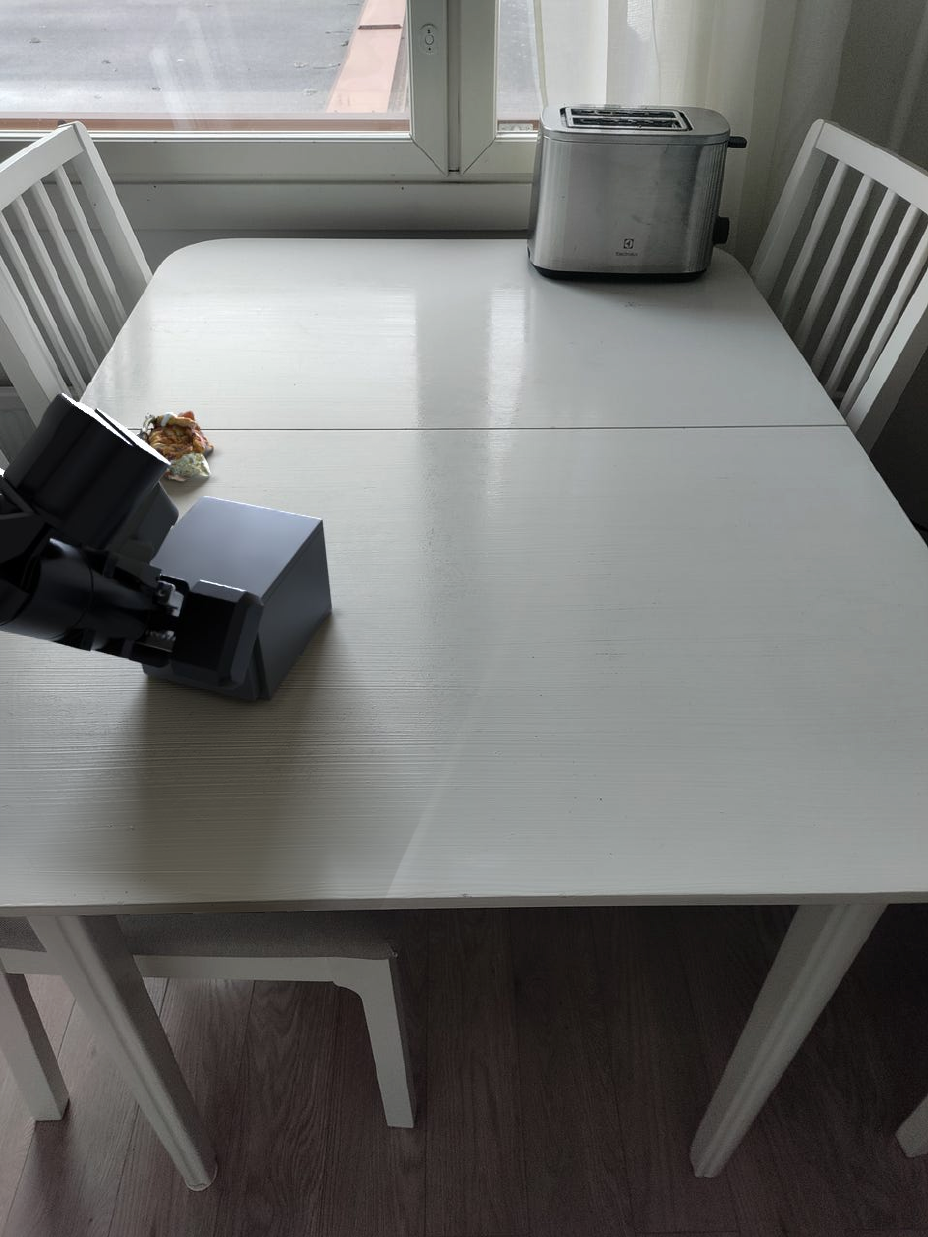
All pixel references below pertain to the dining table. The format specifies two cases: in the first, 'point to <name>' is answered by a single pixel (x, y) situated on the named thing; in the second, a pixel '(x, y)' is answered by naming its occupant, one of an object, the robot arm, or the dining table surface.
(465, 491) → the dining table surface
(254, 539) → the dark grey box
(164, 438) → the pastry
